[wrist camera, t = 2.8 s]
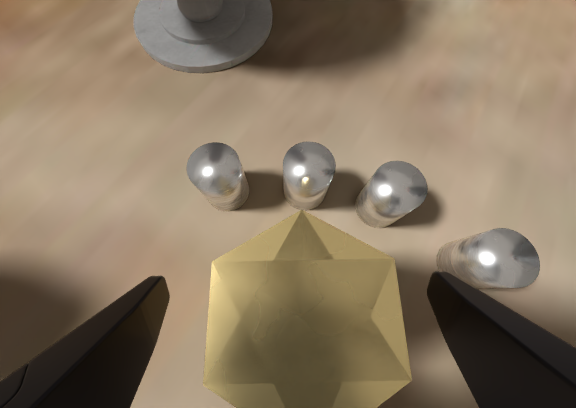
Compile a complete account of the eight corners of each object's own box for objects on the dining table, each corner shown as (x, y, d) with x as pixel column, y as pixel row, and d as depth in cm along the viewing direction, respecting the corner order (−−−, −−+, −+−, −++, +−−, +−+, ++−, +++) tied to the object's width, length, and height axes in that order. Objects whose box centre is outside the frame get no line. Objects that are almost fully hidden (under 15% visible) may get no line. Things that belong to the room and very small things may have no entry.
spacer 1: (257, 188, 19) (250, 162, 15) (229, 219, 18) (213, 200, 14) (227, 164, 19) (212, 133, 16) (198, 193, 19) (175, 169, 15)
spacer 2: (333, 187, 19) (345, 161, 15) (308, 218, 18) (314, 199, 14) (301, 163, 19) (304, 132, 16) (275, 192, 19) (272, 167, 15)
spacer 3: (406, 203, 18) (437, 181, 15) (383, 236, 18) (409, 221, 14) (370, 179, 19) (391, 151, 15) (346, 209, 18) (362, 188, 14)
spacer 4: (490, 261, 17) (549, 252, 13) (470, 298, 16) (525, 300, 13) (450, 232, 18) (494, 217, 14) (428, 267, 17) (469, 261, 13)
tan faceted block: (325, 258, 17) (387, 208, 7) (331, 345, 16) (422, 455, 5) (258, 259, 17) (216, 211, 7) (257, 346, 16) (197, 461, 5)
